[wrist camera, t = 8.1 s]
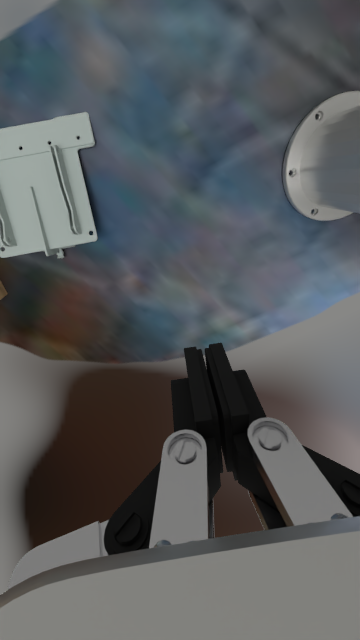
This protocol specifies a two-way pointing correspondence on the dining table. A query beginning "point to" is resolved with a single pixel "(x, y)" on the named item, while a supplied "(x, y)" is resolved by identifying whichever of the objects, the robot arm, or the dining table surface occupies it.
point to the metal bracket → (44, 186)
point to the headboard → (2, 291)
